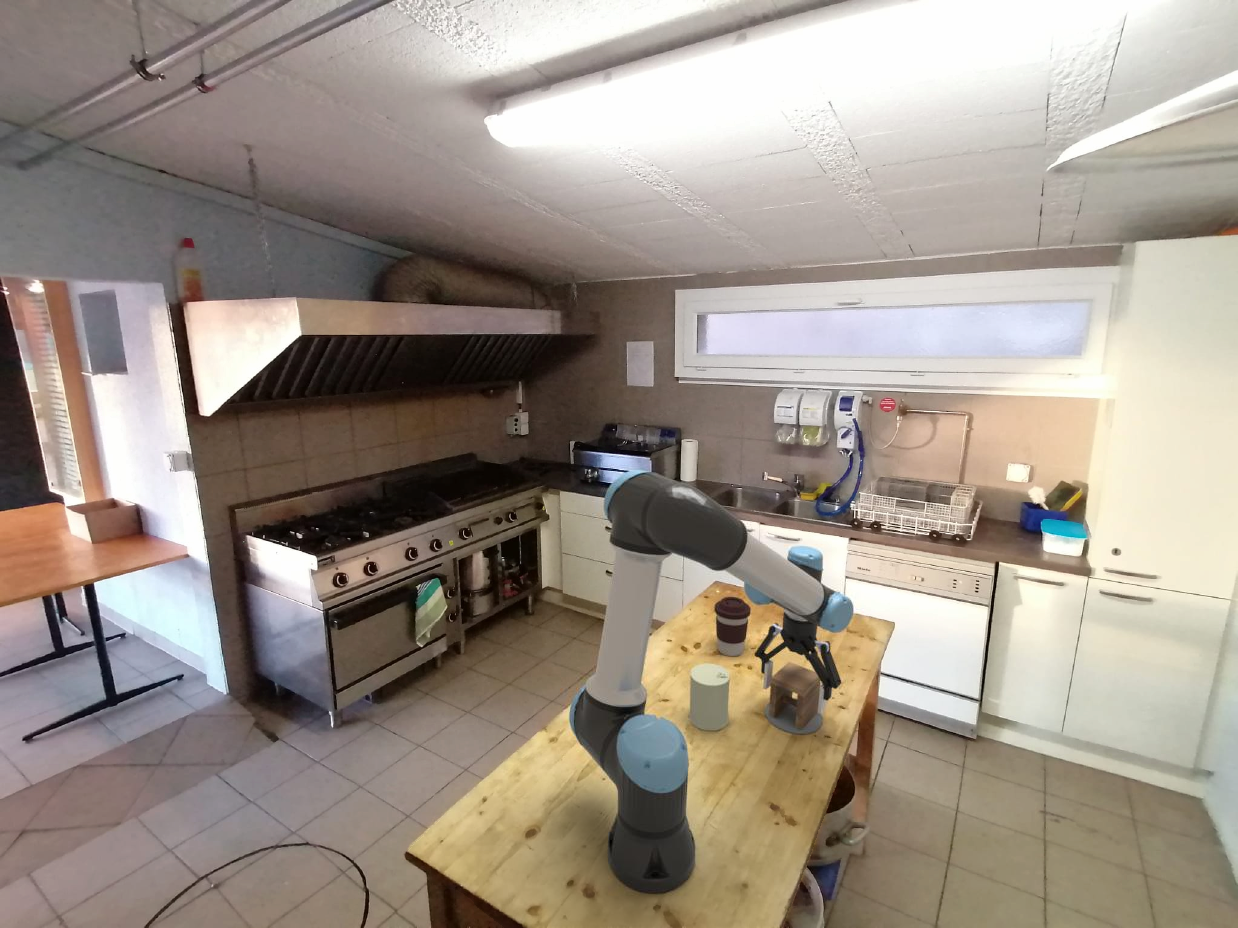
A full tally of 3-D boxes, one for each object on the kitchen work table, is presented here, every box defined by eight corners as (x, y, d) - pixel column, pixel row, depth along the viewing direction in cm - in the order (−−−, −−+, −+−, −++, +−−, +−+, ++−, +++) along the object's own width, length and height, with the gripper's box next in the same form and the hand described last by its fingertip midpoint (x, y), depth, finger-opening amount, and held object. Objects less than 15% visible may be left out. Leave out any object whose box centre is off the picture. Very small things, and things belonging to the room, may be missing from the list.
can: (727, 733, 133) (730, 685, 131) (687, 728, 135) (688, 680, 133) (728, 708, 142) (730, 663, 140) (690, 703, 144) (691, 659, 141)
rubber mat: (807, 742, 130) (807, 739, 130) (755, 717, 139) (755, 714, 139) (831, 714, 140) (831, 712, 140) (781, 692, 148) (781, 690, 148)
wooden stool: (818, 712, 140) (821, 674, 138) (801, 730, 133) (803, 690, 131) (786, 698, 145) (789, 661, 143) (768, 715, 139) (771, 677, 136)
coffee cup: (753, 647, 170) (755, 599, 167) (740, 663, 162) (743, 612, 159) (721, 638, 175) (723, 591, 172) (707, 652, 167) (709, 603, 164)
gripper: (862, 626, 128) (853, 713, 133) (759, 593, 145) (754, 671, 149) (849, 638, 123) (839, 729, 127) (743, 602, 139) (738, 683, 144)
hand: (793, 698), depth 138 cm, fingers open, 13 cm apart
